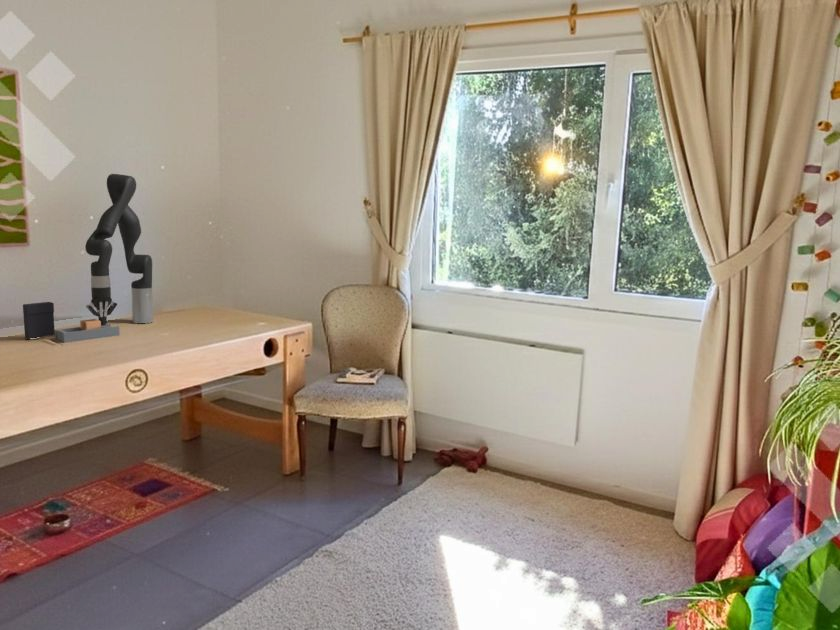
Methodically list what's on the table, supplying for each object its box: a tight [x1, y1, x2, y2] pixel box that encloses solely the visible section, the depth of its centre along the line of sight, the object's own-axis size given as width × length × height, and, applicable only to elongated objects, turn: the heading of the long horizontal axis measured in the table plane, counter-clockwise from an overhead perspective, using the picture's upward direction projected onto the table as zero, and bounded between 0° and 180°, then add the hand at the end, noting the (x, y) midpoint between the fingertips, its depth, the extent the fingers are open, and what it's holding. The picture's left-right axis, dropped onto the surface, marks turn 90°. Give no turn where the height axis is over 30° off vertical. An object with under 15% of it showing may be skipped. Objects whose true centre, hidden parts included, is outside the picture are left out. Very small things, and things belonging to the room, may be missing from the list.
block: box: [79, 318, 101, 331], centre depth 282 cm, size 6×6×7 cm
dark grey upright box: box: [22, 301, 55, 340], centre depth 280 cm, size 11×4×15 cm, turn 145°
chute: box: [54, 323, 120, 346], centre depth 282 cm, size 12×26×5 cm, turn 140°
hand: (102, 325), depth 286 cm, fingers closed
